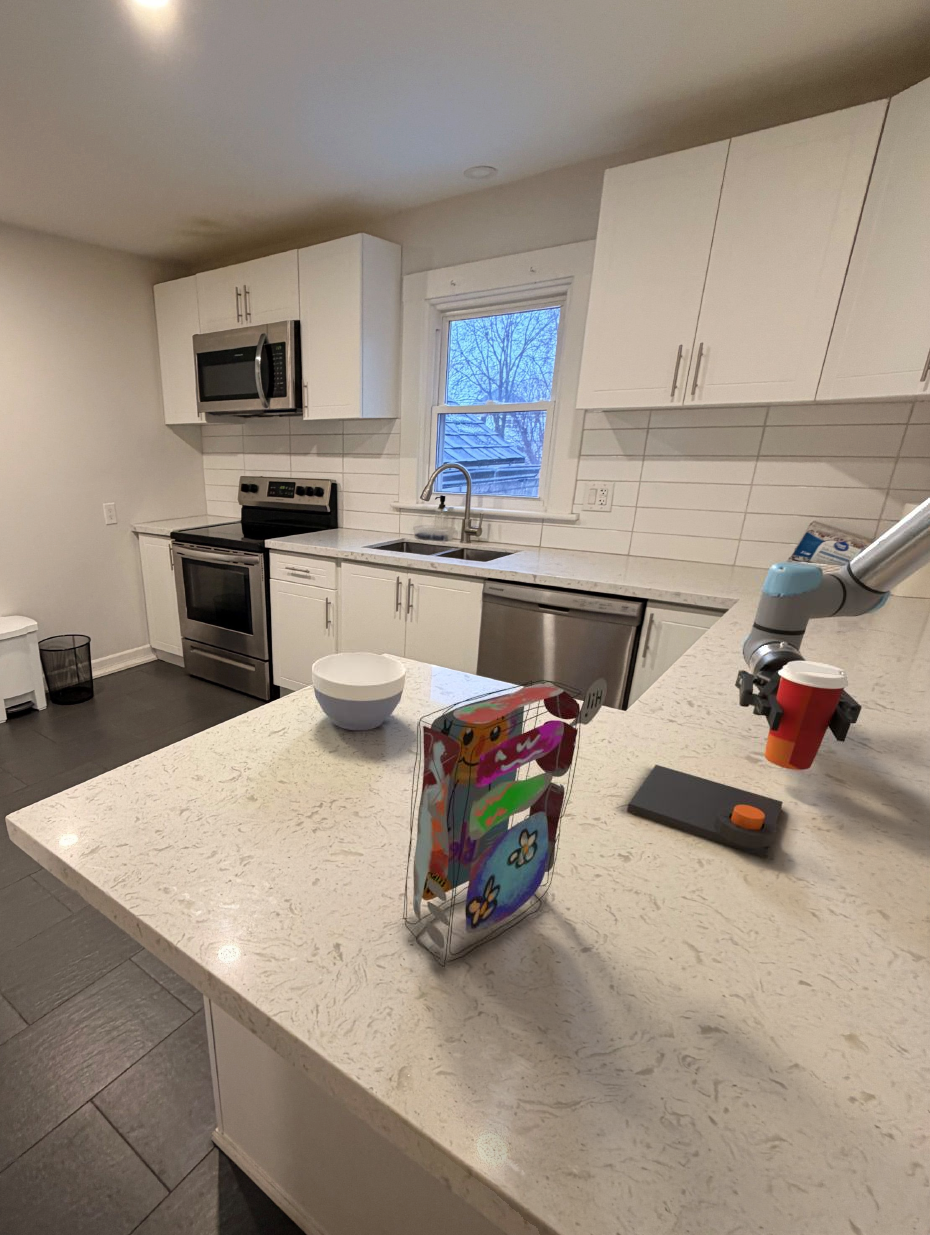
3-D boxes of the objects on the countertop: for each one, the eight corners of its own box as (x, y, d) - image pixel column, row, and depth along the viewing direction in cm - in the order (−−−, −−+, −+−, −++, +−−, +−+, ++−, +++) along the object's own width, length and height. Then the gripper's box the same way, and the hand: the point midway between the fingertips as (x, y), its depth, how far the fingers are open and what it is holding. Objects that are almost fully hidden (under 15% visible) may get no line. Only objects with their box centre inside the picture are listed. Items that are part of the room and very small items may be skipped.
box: (552, 846, 79) (585, 658, 69) (597, 872, 74) (639, 675, 64) (400, 932, 65) (415, 714, 55) (444, 971, 60) (469, 740, 51)
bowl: (293, 716, 112) (292, 665, 109) (358, 694, 122) (359, 646, 118) (355, 749, 101) (357, 693, 98) (422, 721, 111) (425, 669, 108)
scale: (780, 809, 87) (787, 790, 86) (765, 863, 76) (772, 842, 75) (653, 771, 96) (658, 753, 95) (624, 814, 85) (628, 795, 84)
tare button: (762, 822, 79) (766, 810, 78) (759, 834, 77) (763, 822, 76) (733, 813, 81) (736, 801, 80) (728, 824, 79) (732, 812, 78)
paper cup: (819, 757, 92) (850, 666, 87) (820, 779, 87) (853, 683, 81) (756, 743, 97) (781, 655, 91) (753, 763, 91) (780, 671, 85)
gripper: (716, 641, 106) (731, 688, 87) (862, 659, 99) (914, 714, 79) (706, 683, 109) (718, 737, 90) (846, 703, 101) (892, 767, 82)
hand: (809, 726), depth 84 cm, fingers closed on paper cup, 7 cm apart
